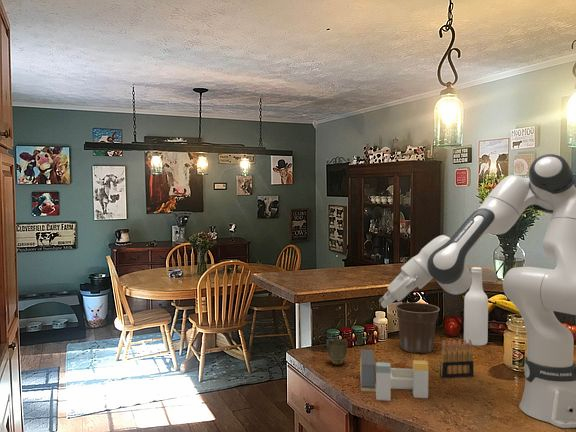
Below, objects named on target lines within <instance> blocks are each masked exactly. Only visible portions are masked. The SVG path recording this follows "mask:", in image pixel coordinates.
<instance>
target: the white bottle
mask: <svg viewBox="0 0 576 432" xmlns="http://www.w3.org/2000/svg"><path fill="white" fill-rule="evenodd" d="M470 273H471V277H472V284H471V286H470V288H469V289H468V290H467V291H466V293H465V295H464V300H463V302H464V303H463V304H464V305H463V307H464V308H463V341H464V340H466V344H467V345H468V343H469V340H471V342H472V346H475V347H482V346H486V345H487V343H488V340H489V339H488V338H489V336H488V333H489V332H488V328H489V299H488V295H487V294H486V293H485V291H484V287H483V286H484V285H483V276H482V275H483V268H482V267H479V266H473V267H471V270H470Z"/></svg>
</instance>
